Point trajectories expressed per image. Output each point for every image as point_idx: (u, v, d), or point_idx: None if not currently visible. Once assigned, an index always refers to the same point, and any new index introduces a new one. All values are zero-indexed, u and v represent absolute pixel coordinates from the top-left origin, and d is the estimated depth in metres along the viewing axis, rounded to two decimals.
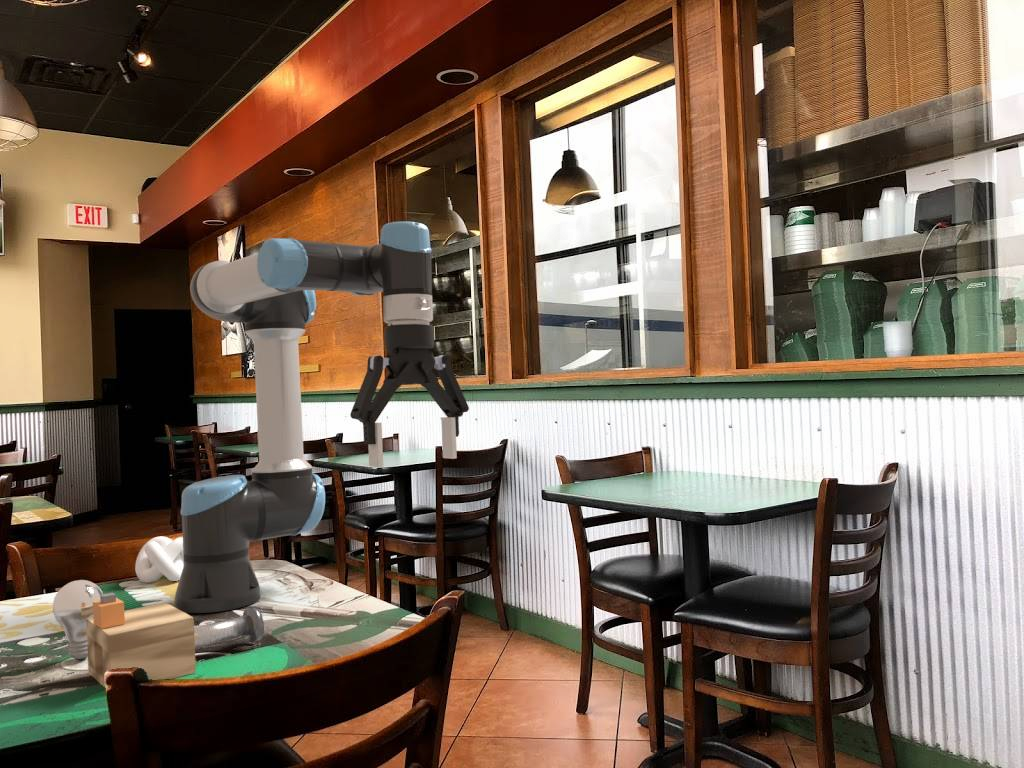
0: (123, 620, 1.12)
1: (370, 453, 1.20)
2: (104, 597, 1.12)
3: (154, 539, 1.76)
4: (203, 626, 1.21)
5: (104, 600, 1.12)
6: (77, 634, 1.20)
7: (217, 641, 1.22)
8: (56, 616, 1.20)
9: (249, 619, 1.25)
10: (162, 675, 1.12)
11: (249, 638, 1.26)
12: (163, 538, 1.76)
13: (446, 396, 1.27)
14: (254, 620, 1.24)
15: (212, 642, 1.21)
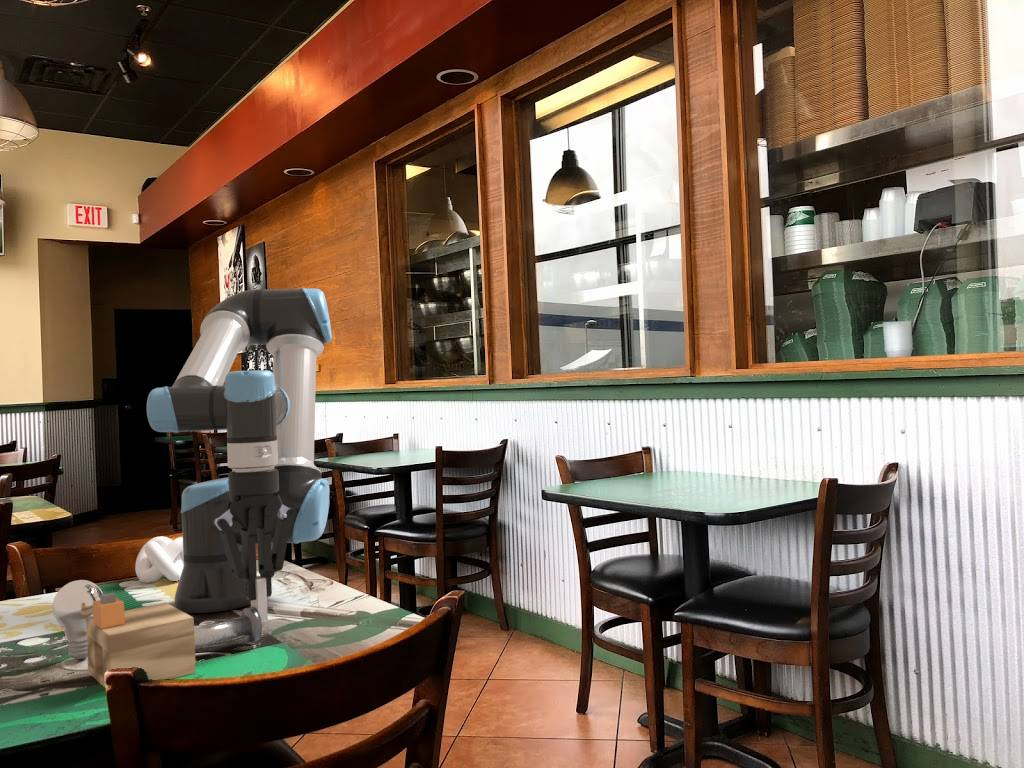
0: (123, 620, 1.12)
1: None
2: (104, 597, 1.12)
3: (154, 539, 1.76)
4: (201, 626, 1.21)
5: (104, 600, 1.12)
6: (77, 634, 1.20)
7: (215, 641, 1.21)
8: (56, 616, 1.20)
9: (247, 619, 1.25)
10: (162, 675, 1.12)
11: (247, 638, 1.26)
12: (163, 538, 1.76)
13: (269, 551, 1.27)
14: (252, 620, 1.24)
15: (210, 642, 1.21)
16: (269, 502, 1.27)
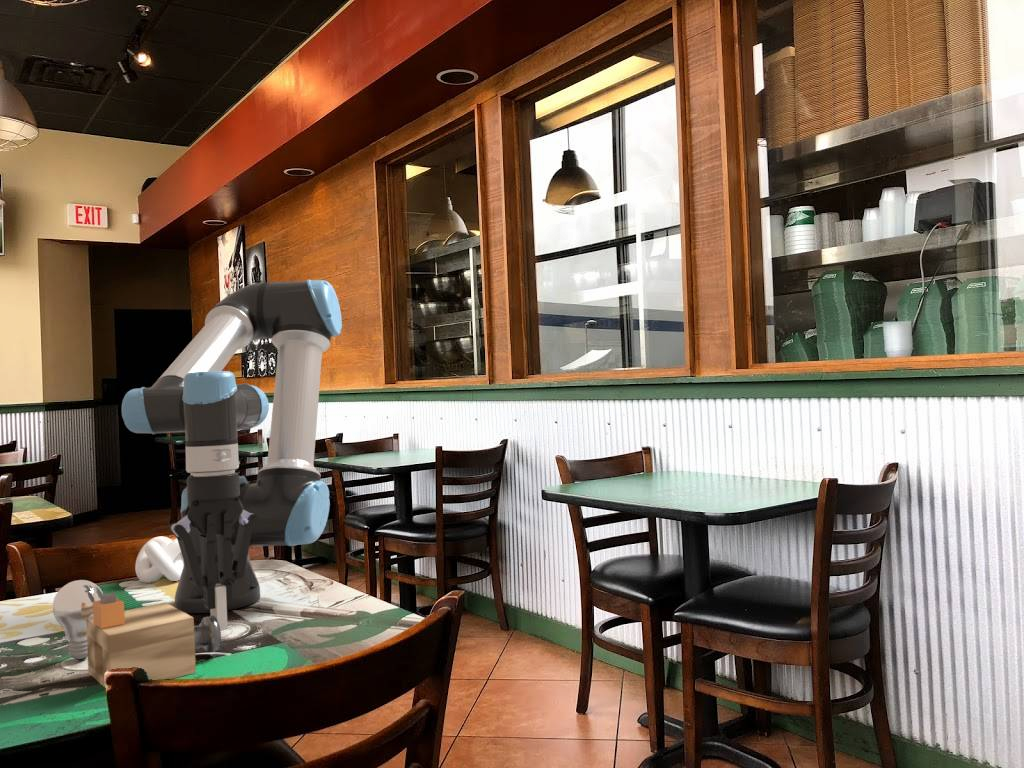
0: (123, 620, 1.12)
1: None
2: (104, 597, 1.12)
3: (154, 539, 1.76)
4: None
5: (104, 600, 1.12)
6: (77, 634, 1.20)
7: None
8: (56, 616, 1.20)
9: (206, 629, 1.21)
10: (162, 675, 1.12)
11: (206, 648, 1.22)
12: (163, 538, 1.76)
13: (229, 558, 1.23)
14: (211, 630, 1.20)
15: None
16: (229, 507, 1.23)
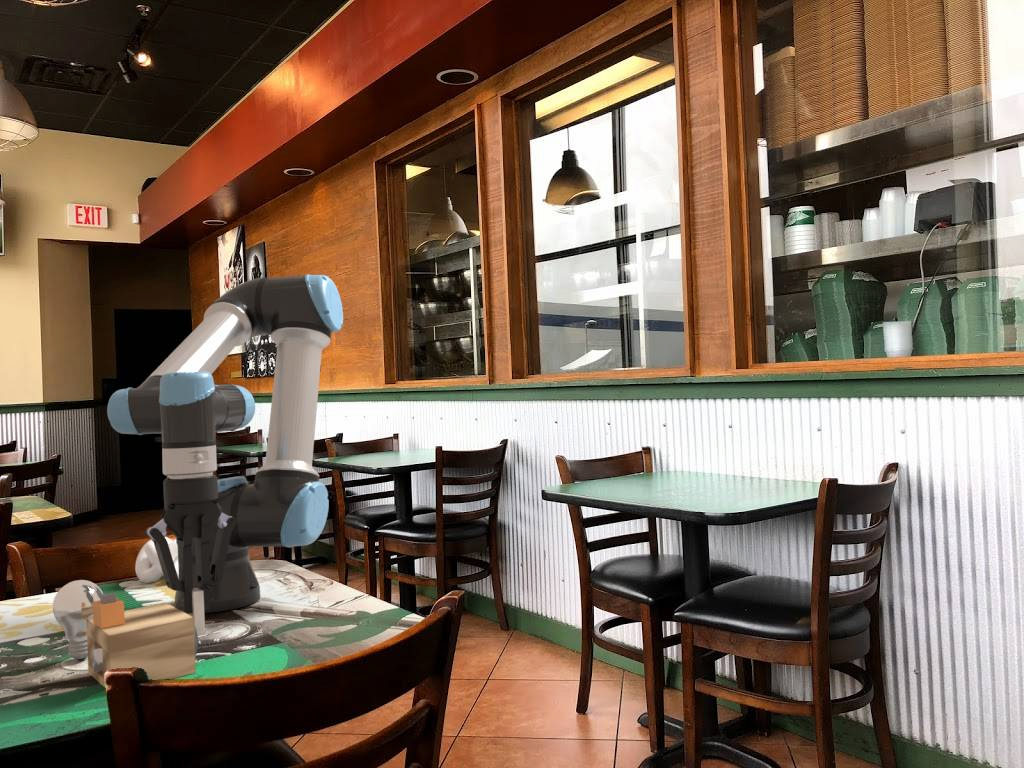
0: (123, 620, 1.12)
1: None
2: (104, 597, 1.12)
3: None
4: None
5: (104, 600, 1.12)
6: (77, 634, 1.20)
7: None
8: (56, 616, 1.20)
9: None
10: (162, 675, 1.12)
11: None
12: None
13: (207, 562, 1.21)
14: None
15: None
16: (207, 510, 1.21)
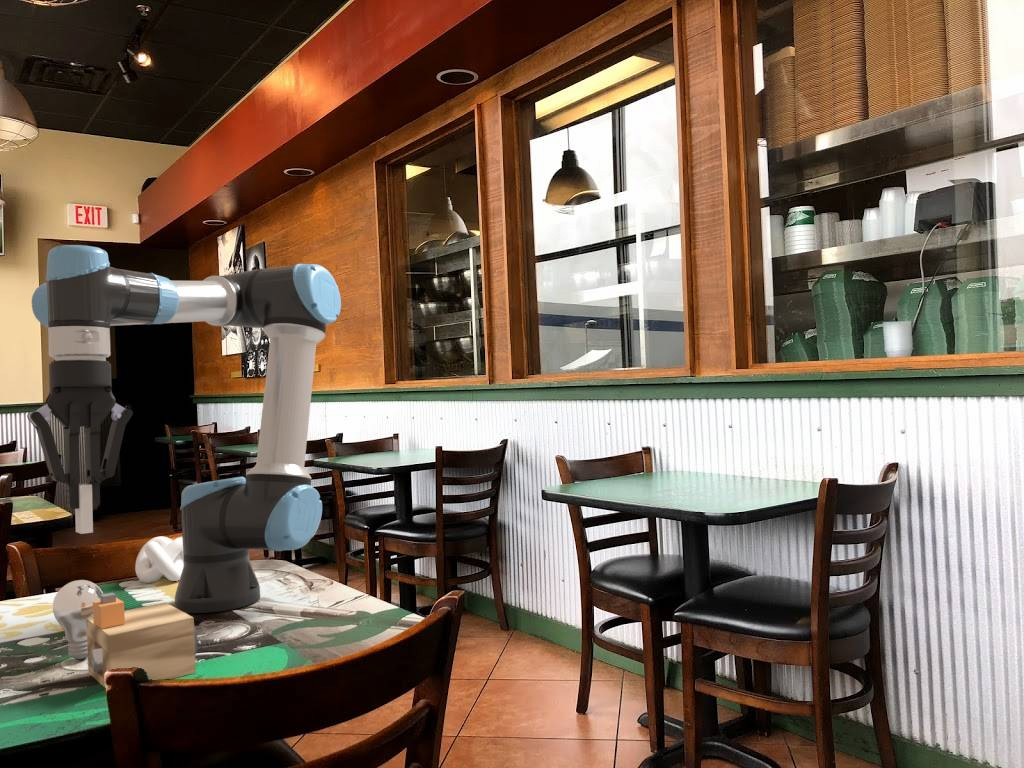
0: (123, 620, 1.12)
1: (76, 518, 1.11)
2: (104, 597, 1.12)
3: (154, 539, 1.76)
4: None
5: (104, 600, 1.12)
6: (77, 634, 1.20)
7: None
8: (56, 616, 1.20)
9: None
10: (162, 675, 1.12)
11: None
12: (163, 538, 1.76)
13: (97, 454, 1.11)
14: None
15: None
16: (98, 398, 1.12)
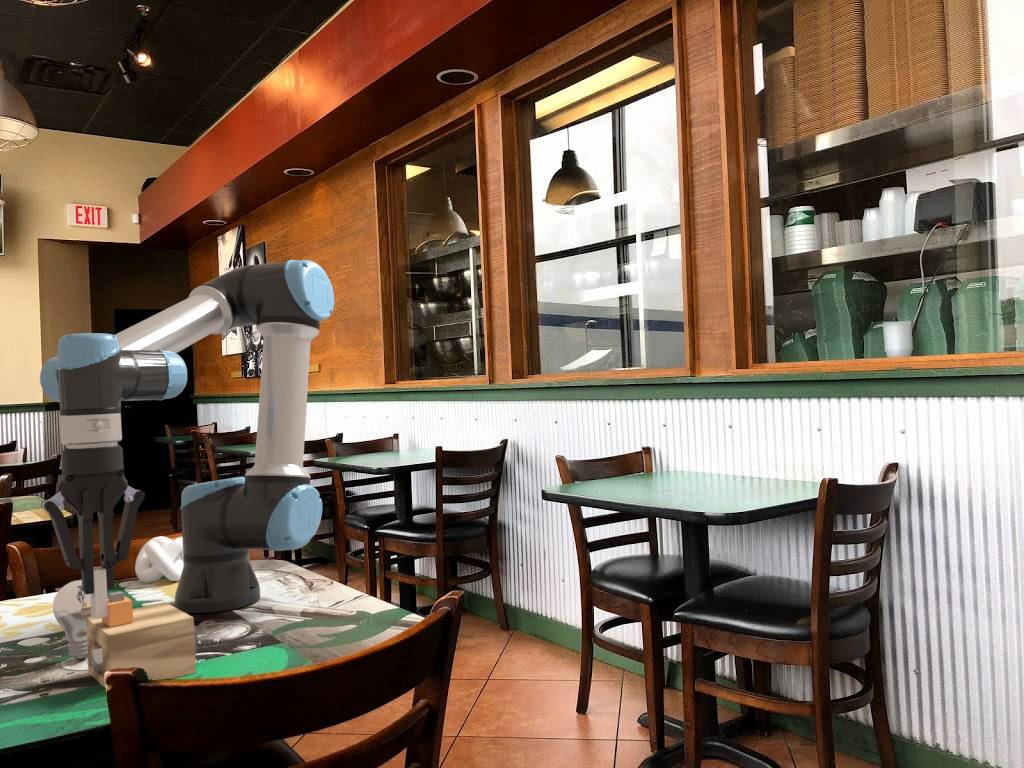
0: (131, 618, 1.13)
1: (91, 602, 1.12)
2: (112, 595, 1.13)
3: (154, 539, 1.76)
4: None
5: (112, 598, 1.12)
6: (77, 634, 1.20)
7: None
8: (56, 616, 1.20)
9: None
10: (162, 675, 1.12)
11: None
12: (163, 538, 1.76)
13: (110, 539, 1.12)
14: None
15: None
16: (111, 483, 1.12)
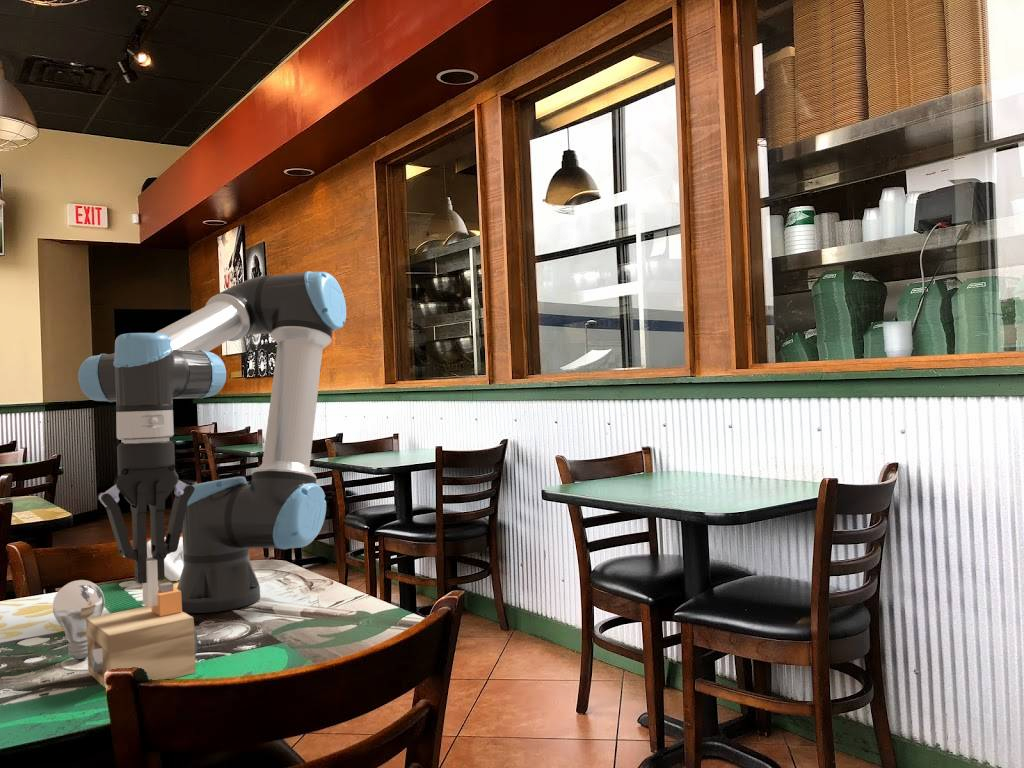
0: (180, 608, 1.17)
1: (143, 591, 1.17)
2: (162, 586, 1.17)
3: None
4: None
5: (162, 589, 1.17)
6: (77, 634, 1.20)
7: None
8: (56, 616, 1.20)
9: None
10: (162, 675, 1.12)
11: None
12: None
13: (161, 530, 1.17)
14: None
15: None
16: (163, 477, 1.17)
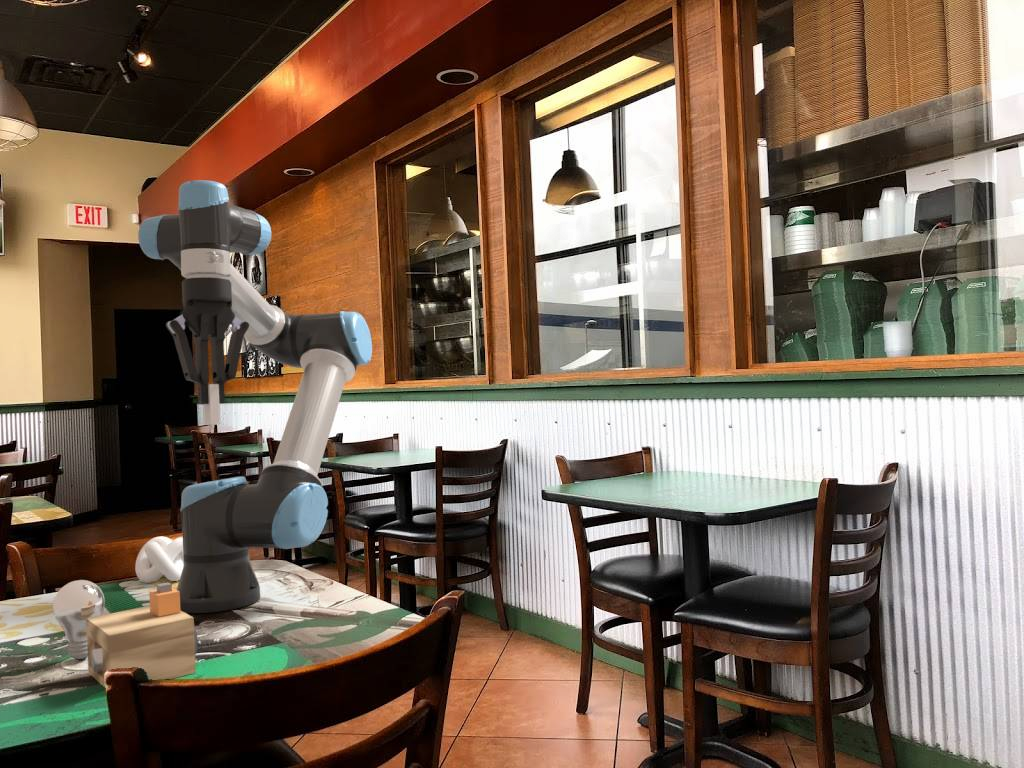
0: (179, 608, 1.17)
1: (205, 413, 1.31)
2: (161, 586, 1.17)
3: (154, 539, 1.76)
4: None
5: (161, 589, 1.17)
6: (77, 634, 1.20)
7: None
8: (56, 616, 1.20)
9: None
10: (162, 675, 1.12)
11: None
12: (163, 538, 1.76)
13: (222, 359, 1.31)
14: None
15: None
16: (222, 312, 1.31)
